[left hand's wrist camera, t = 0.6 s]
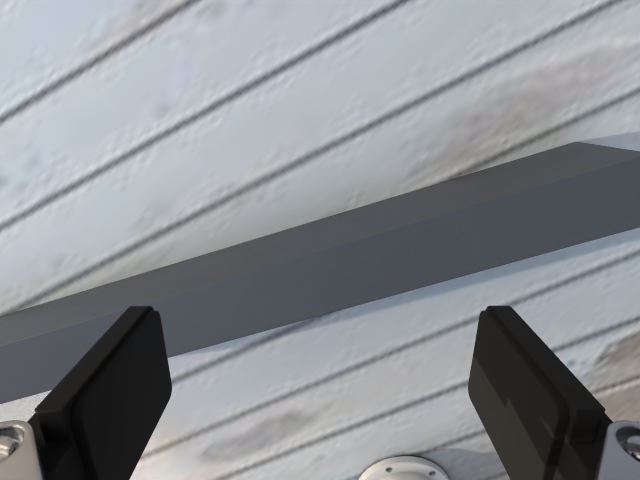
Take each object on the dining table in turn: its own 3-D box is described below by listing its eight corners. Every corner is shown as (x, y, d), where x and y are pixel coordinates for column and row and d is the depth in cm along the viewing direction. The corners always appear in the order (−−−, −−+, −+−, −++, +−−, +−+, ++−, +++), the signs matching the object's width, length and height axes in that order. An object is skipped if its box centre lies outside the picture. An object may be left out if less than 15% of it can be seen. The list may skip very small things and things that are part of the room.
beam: (575, 141, 36) (652, 153, 28) (580, 196, 38) (654, 223, 29) (-148, 361, 44) (-255, 420, 36) (-116, 398, 46) (-212, 462, 38)
